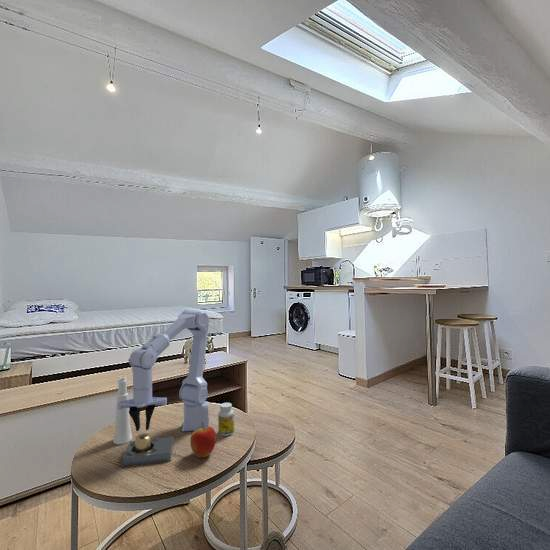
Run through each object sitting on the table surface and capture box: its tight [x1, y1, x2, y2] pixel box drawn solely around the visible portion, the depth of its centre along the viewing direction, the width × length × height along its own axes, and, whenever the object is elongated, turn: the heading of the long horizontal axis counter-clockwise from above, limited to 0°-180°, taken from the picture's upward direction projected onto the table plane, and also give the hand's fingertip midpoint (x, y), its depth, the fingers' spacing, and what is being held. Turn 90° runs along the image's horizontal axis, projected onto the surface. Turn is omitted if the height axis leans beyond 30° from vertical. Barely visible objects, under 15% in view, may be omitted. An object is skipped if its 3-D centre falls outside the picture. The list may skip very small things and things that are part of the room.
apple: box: [189, 423, 217, 458], centre depth 101 cm, size 8×8×10 cm
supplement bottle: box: [217, 402, 235, 437], centre depth 115 cm, size 6×6×10 cm
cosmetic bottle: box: [112, 376, 133, 445], centre depth 111 cm, size 6×6×22 cm
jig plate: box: [121, 436, 175, 468], centre depth 101 cm, size 14×10×2 cm
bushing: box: [134, 432, 152, 454], centre depth 101 cm, size 4×4×6 cm
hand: (142, 429), depth 101 cm, fingers open, 2 cm apart
